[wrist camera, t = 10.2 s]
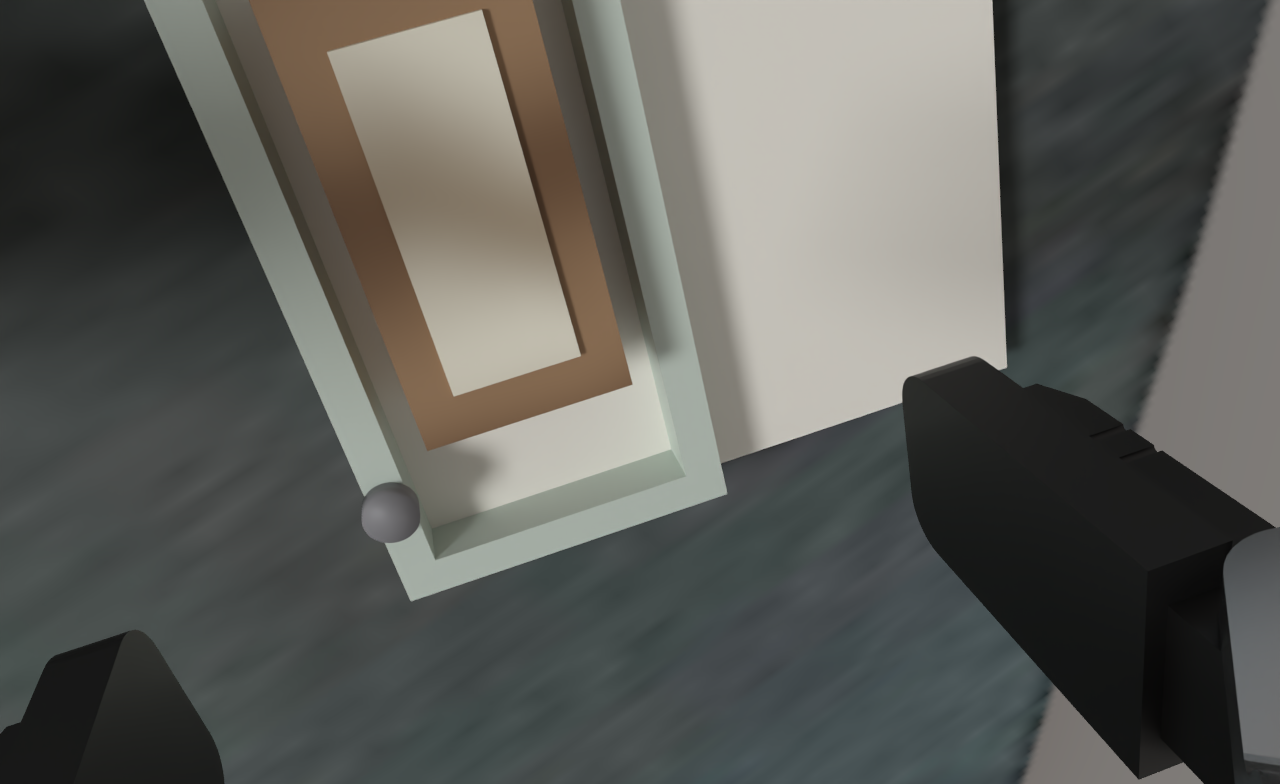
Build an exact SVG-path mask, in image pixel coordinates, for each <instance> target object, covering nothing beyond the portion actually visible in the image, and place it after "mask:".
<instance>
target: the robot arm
mask: <svg viewBox="0 0 1280 784" xmlns="http://www.w3.org/2000/svg"><path fill="white" fill-rule="evenodd" d="M902 403H903V412H904V422H905V432H906V442H907V451H908V461H909V471H910V481H911V490H912V498H913V503H914V507H915V511H916V514H917V517H918V520H919V522H920V525H921V527H922V529H923V531H924V533H925V535H926V537H927V539H928V541H929V542H930V544H931V545H932V547H933V548H934V550H935V551H936V552H937V553H938V554H939V556H940V557H941V558H942V559H943V560H944V561H945V562H946V563H947V565H948V566H949V567H950V568H951V569H952V570H953V571H954V572H955V574H956V575H957V576H958V577H959V578H960V579H961V580H962V581H963V583H964V584H965V585H966V586H967V587H968V588H969V589H970V590H971V592H972V593H973V594H974V595H975V596H976V597H977V598H978V599H979V601H980V602H981V603H982V604H983V605H984V606H985V607H986V608H987V610H988V611H989V612H990V613H991V614H992V615H993V616H994V617H995V619H996V620H997V621H998V622H999V623H1000V624H1001V625H1002V626H1003V628H1004V629H1005V630H1006V631H1007V632H1008V633H1009V634H1010V635H1011V637H1012V638H1013V639H1014V640H1015V641H1016V642H1017V643H1018V644H1019V646H1020V647H1021V648H1022V649H1023V650H1024V651H1025V652H1026V653H1027V655H1028V656H1029V657H1030V658H1031V659H1032V660H1033V661H1034V662H1035V663H1036V665H1037V666H1038V667H1039V668H1040V669H1041V670H1042V671H1043V672H1044V674H1045V675H1046V676H1047V677H1048V678H1049V679H1050V680H1051V681H1052V683H1053V684H1054V685H1055V686H1056V687H1057V688H1058V689H1059V690H1060V691H1061V692H1062V694H1063V695H1064V696H1065V697H1066V698H1067V699H1068V701H1069V702H1070V703H1071V704H1072V705H1073V706H1074V707H1075V708H1076V710H1077V711H1078V712H1079V713H1080V714H1081V715H1082V716H1083V717H1084V719H1085V720H1086V721H1087V722H1088V723H1089V724H1090V725H1091V726H1092V727H1093V729H1094V730H1095V731H1096V732H1097V733H1098V734H1099V735H1100V737H1101V738H1102V739H1103V740H1104V741H1105V742H1106V743H1107V744H1108V745H1109V747H1110V748H1111V749H1112V750H1113V751H1114V752H1115V753H1116V755H1117V756H1118V757H1119V758H1120V759H1121V760H1122V761H1123V762H1124V764H1125V765H1126V766H1127V767H1128V768H1129V769H1130V770H1131V771H1132V773H1133V774H1134V775H1135V776H1136V777H1137V778H1138V779H1142V778H1144V777H1147V776H1149V775H1152V774H1154V773H1157V772H1160V771H1162V770H1164V769H1167V768H1170V767H1172V766H1175V765H1177V764H1180V763H1182V762H1184V763H1185V764H1186V765H1187V766H1188V767H1189V768H1190V769H1191V770H1192V771H1193V773H1194V774H1195V775H1196V776H1197V777H1198V778H1199V779H1200V780H1201V781H1202V782H1203V783H1204V784H1280V527H1277V528H1276V527H1274V526H1272V525H1271V524H1270V523H1268V522H1267V521H1265V520H1264V519H1262V518H1261V517H1259V516H1258V515H1257V514H1255V513H1254V512H1252V511H1250V510H1249V509H1248V508H1246V507H1245V506H1243V505H1241V504H1240V503H1239V502H1237V501H1236V500H1234V499H1233V498H1231V497H1230V496H1228V495H1227V494H1225V493H1224V492H1222V491H1221V490H1220V489H1218V488H1217V487H1215V486H1214V485H1212V484H1211V483H1209V482H1208V481H1206V480H1205V479H1203V478H1202V477H1200V476H1199V475H1197V474H1196V473H1194V472H1193V471H1191V470H1190V469H1189V468H1187V467H1186V466H1184V465H1183V464H1181V463H1180V462H1178V461H1176V460H1175V459H1174V458H1172V457H1171V456H1169V455H1168V454H1166V453H1165V452H1163V451H1159V452H1157V451H1156V450H1155V448H1154V445H1153V444H1152V443H1150V442H1149V441H1147V440H1146V439H1144V438H1143V437H1141V436H1140V435H1138V434H1137V433H1135V432H1134V431H1132V430H1131V429H1130V430H1127V431H1126V430H1125V429H1124V427H1123V424H1122V423H1121V422H1119V421H1118V420H1116V419H1115V418H1113V417H1112V416H1110V415H1109V414H1107V413H1106V412H1104V411H1103V410H1101V409H1100V408H1098V407H1097V406H1095V405H1094V404H1092V403H1091V402H1090V401H1088V400H1087V399H1084V398H1081V397H1077V396H1074V395H1071V394H1068V393H1065V392H1061V391H1058V390H1055V389H1052V388H1049V387H1045V386H1042V385H1039V384H1035V385H1032V386H1029V387H1026V388H1022V387H1021V386H1019V385H1018V384H1017V383H1015V382H1014V381H1013V380H1011V379H1010V378H1008V377H1007V376H1006V375H1004V374H1003V373H1001V372H1000V371H999V370H997V369H996V368H995V367H993V366H992V365H990V364H989V363H988V362H986V361H985V360H983V359H982V358H980V357H977V356H971V357H968V358H965V359H962V360H958V361H955V362H952V363H949V364H946V365H943V366H940V367H937V368H934V369H931V370H928V371H925V372H922V373H919V374H916V375H913V376H910V377H908V378H907V379H906V380H905V382H904V384H903V389H902ZM0 784H224V775H223V769H222V764H221V760H220V756H219V753H218V750H217V747H216V745H215V742H214V740H213V738H212V736H211V734H210V732H209V731H208V729H207V728H206V726H205V724H204V723H203V721H202V720H201V718H200V716H199V715H198V713H197V711H196V710H195V708H194V707H193V705H192V703H191V702H190V700H189V699H188V697H187V695H186V694H185V692H184V691H183V689H182V687H181V686H180V684H179V682H178V681H177V679H176V678H175V676H174V674H173V673H172V671H171V670H170V668H169V666H168V665H167V663H166V661H165V660H164V658H163V657H162V655H161V653H160V652H159V650H158V649H157V647H156V646H155V644H154V643H153V641H152V640H151V639H150V638H149V637H148V636H147V635H146V634H145V633H143V632H141V631H139V630H132V631H128V632H125V633H122V634H119V635H116V636H113V637H110V638H107V639H104V640H101V641H98V642H95V643H92V644H89V645H86V646H83V647H80V648H77V649H74V650H71V651H68V652H65V653H61V654H58V655H56V656H54V657H52V658H51V659H50V660H49V661H48V662H47V664H46V666H45V668H44V670H43V672H42V674H41V677H40V679H39V681H38V684H37V686H36V688H35V691H34V693H33V695H32V698H31V700H30V702H29V705H28V707H27V709H26V712H25V714H24V716H23V719H22V721H21V722H20V723H17V724H14V725H11V726H8V727H6V728H5V729H4V731H3V732H2V733H1V734H0Z"/></svg>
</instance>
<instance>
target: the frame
mask: <svg viewBox="0 0 1280 784" xmlns="http://www.w3.org/2000/svg"><path fill="white" fill-rule="evenodd" d="M249 2H250V5H251V7H252V10H253V13H254V15H255V18H256V20H257V23H258V25H259V28H260V30H261V33H262V35H263V38H264V40H265V43H266V45H267V48H268V50H269V53H270V55H271V58H272V60H273V63H274V66H275V68H276V71H277V73H278V76H279V78H280V81H281V83H282V86H283V88H284V91H285V93H286V96H287V98H288V101H289V103H290V106H291V108H292V111H293V113H294V116H295V119H296V121H297V124H298V126H299V129H300V131H301V134H302V136H303V139H304V141H305V144H306V146H307V149H308V151H309V154H310V156H311V159H312V161H313V164H314V166H315V169H316V172H317V174H318V177H319V179H320V182H321V184H322V187H323V189H324V192H325V194H326V197H327V199H328V202H329V204H330V207H331V209H332V212H333V214H334V217H335V219H336V222H337V225H338V227H339V230H340V232H341V235H342V237H343V240H344V242H345V245H346V247H347V250H348V252H349V255H350V257H351V260H352V262H353V265H354V267H355V270H356V272H357V275H358V278H359V280H360V283H361V285H362V288H363V290H364V293H365V295H366V298H367V300H368V303H369V305H370V308H371V310H372V313H373V315H374V318H375V320H376V323H377V325H378V328H379V331H380V333H381V336H382V338H383V341H384V343H385V346H386V348H387V351H388V353H389V356H390V358H391V361H392V363H393V366H394V368H395V371H396V373H397V376H398V378H399V381H400V384H401V386H402V389H403V391H404V394H405V396H406V399H407V401H408V404H409V406H410V409H411V411H412V414H413V416H414V419H415V421H416V424H417V426H418V429H419V431H420V434H421V437H422V439H423V442H424V444H425V447H426V449H427V451H430V450H433V449H436V448H439V447H442V446H445V445H448V444H451V443H454V442H457V441H461V440H464V439H467V438H470V437H473V436H476V435H479V434H482V433H485V432H488V431H491V430H494V429H498V428H501V427H504V426H507V425H510V424H513V423H516V422H519V421H522V420H525V419H528V418H531V417H535V416H538V415H541V414H544V413H547V412H550V411H553V410H556V409H559V408H562V407H565V406H568V405H572V404H575V403H578V402H581V401H584V400H587V399H590V398H593V397H596V396H599V395H602V394H605V393H609V392H612V391H615V390H618V389H621V388H624V387H627V386H630V385H633V384H632V380H631V376H630V372H629V368H628V364H627V361H626V357H625V353H624V349H623V345H622V341H621V338H620V334H619V330H618V326H617V322H616V318H615V315H614V311H613V307H612V303H611V299H610V295H609V292H608V288H607V284H606V280H605V276H604V272H603V269H602V265H601V261H600V257H599V253H598V250H597V246H596V242H595V238H594V234H593V230H592V227H591V223H590V219H589V215H588V211H587V207H586V204H585V200H584V196H583V192H582V188H581V184H580V181H579V177H578V173H577V169H576V165H575V161H574V158H573V154H572V150H571V146H570V142H569V138H568V135H567V131H566V127H565V123H564V119H563V115H562V112H561V108H560V104H559V100H558V96H557V92H556V89H555V85H554V81H553V77H552V73H551V69H550V66H549V62H548V58H547V54H546V50H545V46H544V43H543V39H542V35H541V31H540V27H539V23H538V20H537V16H536V12H535V8H534V4H533V0H249Z"/></svg>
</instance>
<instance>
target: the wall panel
mask: <svg viewBox="0 0 1280 784" xmlns="http://www.w3.org/2000/svg"><path fill="white" fill-rule="evenodd" d="M144 1H145V4H146V6H147V8H148V10H149V13H150V15H151V17H152V19H153V22H154V24H155V26H156V28H157V31H158V33H159V35H160V37H161V40H162V42H163V44H164V46H165V49H166V51H167V53H168V55H169V58H170V60H171V62H172V65H173V67H174V69H175V71H176V74H177V76H178V78H179V80H180V83H181V85H182V87H183V89H184V92H185V94H186V96H187V98H188V101H189V103H190V105H191V107H192V110H193V112H194V114H195V116H196V119H197V121H198V123H199V125H200V128H201V130H202V132H203V134H204V137H205V139H206V141H207V143H208V146H209V148H210V150H211V152H212V155H213V157H214V159H215V161H216V164H217V166H218V168H219V170H220V173H221V175H222V177H223V179H224V182H225V184H226V186H227V188H228V191H229V193H230V195H231V197H232V200H233V202H234V204H235V206H236V209H237V211H238V213H239V215H240V218H241V220H242V222H243V224H244V227H245V229H246V231H247V233H248V236H249V238H250V240H251V242H252V245H253V247H254V249H255V251H256V254H257V256H258V258H259V260H260V263H261V265H262V267H263V270H264V272H265V274H266V276H267V279H268V281H269V283H270V285H271V288H272V290H273V292H274V294H275V297H276V299H277V301H278V303H279V306H280V308H281V310H282V312H283V315H284V317H285V319H286V321H287V324H288V326H289V328H290V330H291V333H292V335H293V337H294V339H295V342H296V344H297V346H298V348H299V351H300V353H301V355H302V357H303V360H304V362H305V364H306V366H307V369H308V371H309V373H310V375H311V378H312V380H313V382H314V384H315V387H316V389H317V391H318V393H319V396H320V398H321V400H322V402H323V405H324V407H325V409H326V411H327V414H328V416H329V418H330V420H331V423H332V425H333V427H334V429H335V432H336V434H337V436H338V438H339V441H340V443H341V445H342V447H343V450H344V452H345V454H346V456H347V459H348V461H349V463H350V465H351V468H352V470H353V472H354V474H355V477H356V479H357V481H358V484H359V486H360V488H361V490H362V493H363V495H364V499H363V502H362V525H363V528H364V530H365V532H366V533H367V534H368V535H369V536H370V537H371V538H373V539H375V540H377V541H380V542H384V543H385V544H386V547H387V549H388V551H389V553H390V556H391V558H392V560H393V562H394V565H395V567H396V569H397V571H398V574H399V576H400V578H401V580H402V583H403V585H404V587H405V589H406V592H407V594H408V596H409V598H410V601H413V600H416V599H419V598H422V597H425V596H428V595H431V594H434V593H437V592H440V591H443V590H446V589H449V588H452V587H455V586H458V585H461V584H463V583H466V582H469V581H472V580H475V579H478V578H481V577H484V576H487V575H490V574H493V573H496V572H499V571H502V570H505V569H508V568H511V567H514V566H516V565H519V564H522V563H525V562H528V561H531V560H534V559H537V558H540V557H543V556H546V555H549V554H552V553H555V552H558V551H561V550H564V549H567V548H570V547H572V546H575V545H578V544H581V543H584V542H587V541H590V540H593V539H596V538H599V537H602V536H605V535H608V534H611V533H614V532H617V531H620V530H623V529H626V528H628V527H631V526H634V525H637V524H640V523H643V522H646V521H649V520H652V519H655V518H658V517H661V516H664V515H667V514H670V513H673V512H676V511H679V510H681V509H684V508H687V507H690V506H693V505H696V504H699V503H702V502H705V501H708V500H711V499H714V498H717V497H720V496H723V495H726V494H727V490H726V486H725V481H724V476H723V472H722V467H721V463H723V462H726V461H729V460H732V459H735V458H738V457H741V456H744V455H747V454H750V453H753V452H756V451H759V450H762V449H765V448H768V447H771V446H774V445H777V444H780V443H783V442H786V441H789V440H792V439H795V438H798V437H801V436H804V435H807V434H810V433H813V432H816V431H819V430H822V429H825V428H828V427H831V426H834V425H837V424H840V423H843V422H846V421H849V420H852V419H855V418H858V417H861V416H864V415H867V414H870V413H873V412H875V411H878V410H881V409H884V408H887V407H890V406H893V405H896V404H899V403H902V389H903V384H904V382H905V380H906V379H907V378H908V377H910V376H913V375H916V374H919V373H922V372H925V371H928V370H931V369H934V368H937V367H940V366H943V365H946V364H949V363H952V362H955V361H958V360H962V359H965V358H968V357H971V356H977V357H980V358H982V359H983V360H985V361H986V362H988V363H989V364H990V365H992V366H993V367H995V368H996V369H997V370H1001V369H1004V368H1007V357H1006V332H1005V307H1004V282H1003V257H1002V231H1001V206H1000V181H999V156H998V131H997V106H996V81H995V56H994V31H993V5H992V0H533V4H534V8H535V12H536V16H537V20H538V23H539V27H540V31H541V35H542V39H543V43H544V46H545V50H546V54H547V58H548V62H549V66H550V69H551V73H552V77H553V81H554V85H555V89H556V92H557V96H558V100H559V104H560V108H561V112H562V115H563V119H564V123H565V127H566V131H567V135H568V138H569V142H570V146H571V150H572V154H573V158H574V161H575V165H576V169H577V173H578V177H579V181H580V184H581V188H582V192H583V196H584V200H585V204H586V207H587V211H588V215H589V219H590V223H591V227H592V230H593V234H594V238H595V242H596V246H597V250H598V253H599V257H600V261H601V265H602V269H603V272H604V276H605V280H606V284H607V288H608V292H609V295H610V299H611V303H612V307H613V311H614V315H615V318H616V322H617V326H618V330H619V334H620V338H621V341H622V345H623V349H624V353H625V357H626V361H627V364H628V368H629V372H630V376H631V380H632V384H633V385H630V386H627V387H624V388H621V389H618V390H615V391H612V392H609V393H605V394H602V395H599V396H596V397H593V398H590V399H587V400H584V401H581V402H578V403H575V404H572V405H568V406H565V407H562V408H559V409H556V410H553V411H550V412H547V413H544V414H541V415H538V416H535V417H531V418H528V419H525V420H522V421H519V422H516V423H513V424H510V425H507V426H504V427H501V428H498V429H494V430H491V431H488V432H485V433H482V434H479V435H476V436H473V437H470V438H467V439H464V440H461V441H457V442H454V443H451V444H448V445H445V446H442V447H439V448H436V449H433V450H430V451H427V449H426V447H425V444H424V442H423V439H422V437H421V434H420V431H419V429H418V426H417V424H416V421H415V419H414V416H413V414H412V411H411V409H410V406H409V404H408V401H407V399H406V396H405V394H404V391H403V389H402V386H401V384H400V381H399V378H398V376H397V373H396V371H395V368H394V366H393V363H392V361H391V358H390V356H389V353H388V351H387V348H386V346H385V343H384V341H383V338H382V336H381V333H380V331H379V328H378V325H377V323H376V320H375V318H374V315H373V313H372V310H371V308H370V305H369V303H368V300H367V298H366V295H365V293H364V290H363V288H362V285H361V283H360V280H359V278H358V275H357V272H356V270H355V267H354V265H353V262H352V260H351V257H350V255H349V252H348V250H347V247H346V245H345V242H344V240H343V237H342V235H341V232H340V230H339V227H338V225H337V222H336V219H335V217H334V214H333V212H332V209H331V207H330V204H329V202H328V199H327V197H326V194H325V192H324V189H323V187H322V184H321V182H320V179H319V177H318V174H317V172H316V169H315V166H314V164H313V161H312V159H311V156H310V154H309V151H308V149H307V146H306V144H305V141H304V139H303V136H302V134H301V131H300V129H299V126H298V124H297V121H296V119H295V116H294V113H293V111H292V108H291V106H290V103H289V101H288V98H287V96H286V93H285V91H284V88H283V86H282V83H281V81H280V78H279V76H278V73H277V71H276V68H275V66H274V63H273V60H272V58H271V55H270V53H269V50H268V48H267V45H266V43H265V40H264V38H263V35H262V33H261V30H260V28H259V25H258V23H257V20H256V18H255V15H254V13H253V10H252V7H251V5H250V2H249V0H144Z"/></svg>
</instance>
